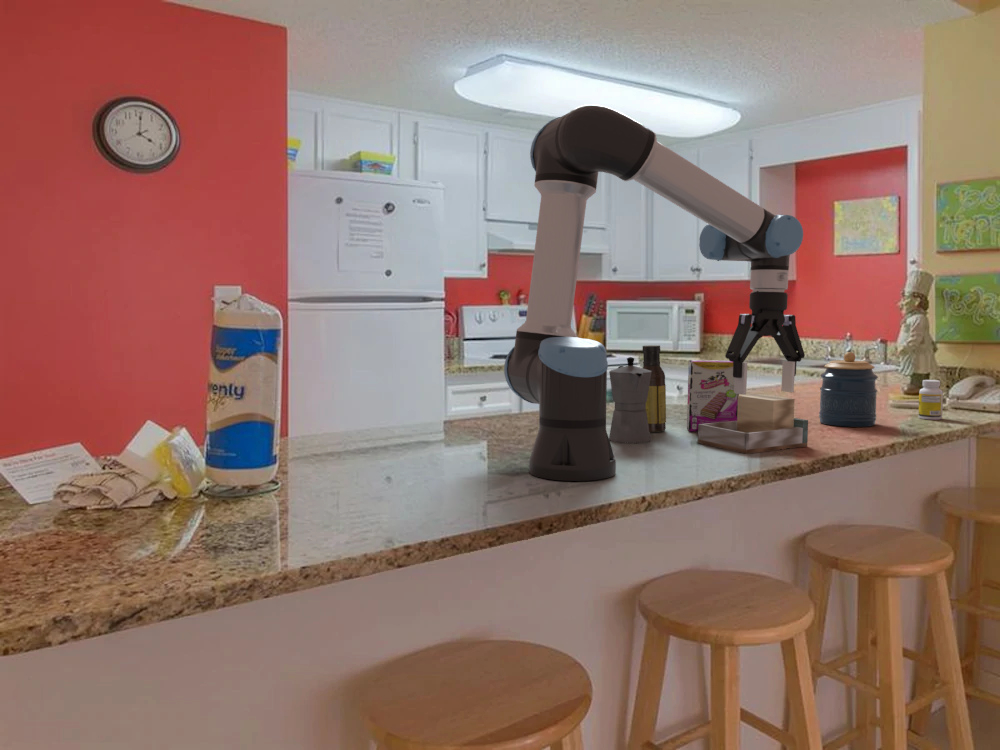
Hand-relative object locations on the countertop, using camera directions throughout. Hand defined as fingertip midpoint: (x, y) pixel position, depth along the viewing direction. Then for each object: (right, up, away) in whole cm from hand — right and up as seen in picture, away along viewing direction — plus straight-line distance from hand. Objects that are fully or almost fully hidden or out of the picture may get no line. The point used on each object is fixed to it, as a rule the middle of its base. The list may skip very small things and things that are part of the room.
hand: (764, 392), depth 172 cm
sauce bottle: (-20, -9, +18) cm, 29 cm away
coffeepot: (-28, -10, +7) cm, 30 cm away
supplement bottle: (+55, -8, +37) cm, 67 cm away
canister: (+30, -8, +29) cm, 42 cm away
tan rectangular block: (0, -10, +1) cm, 10 cm away
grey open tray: (-3, -11, -1) cm, 11 cm away
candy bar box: (-6, -9, +18) cm, 21 cm away
